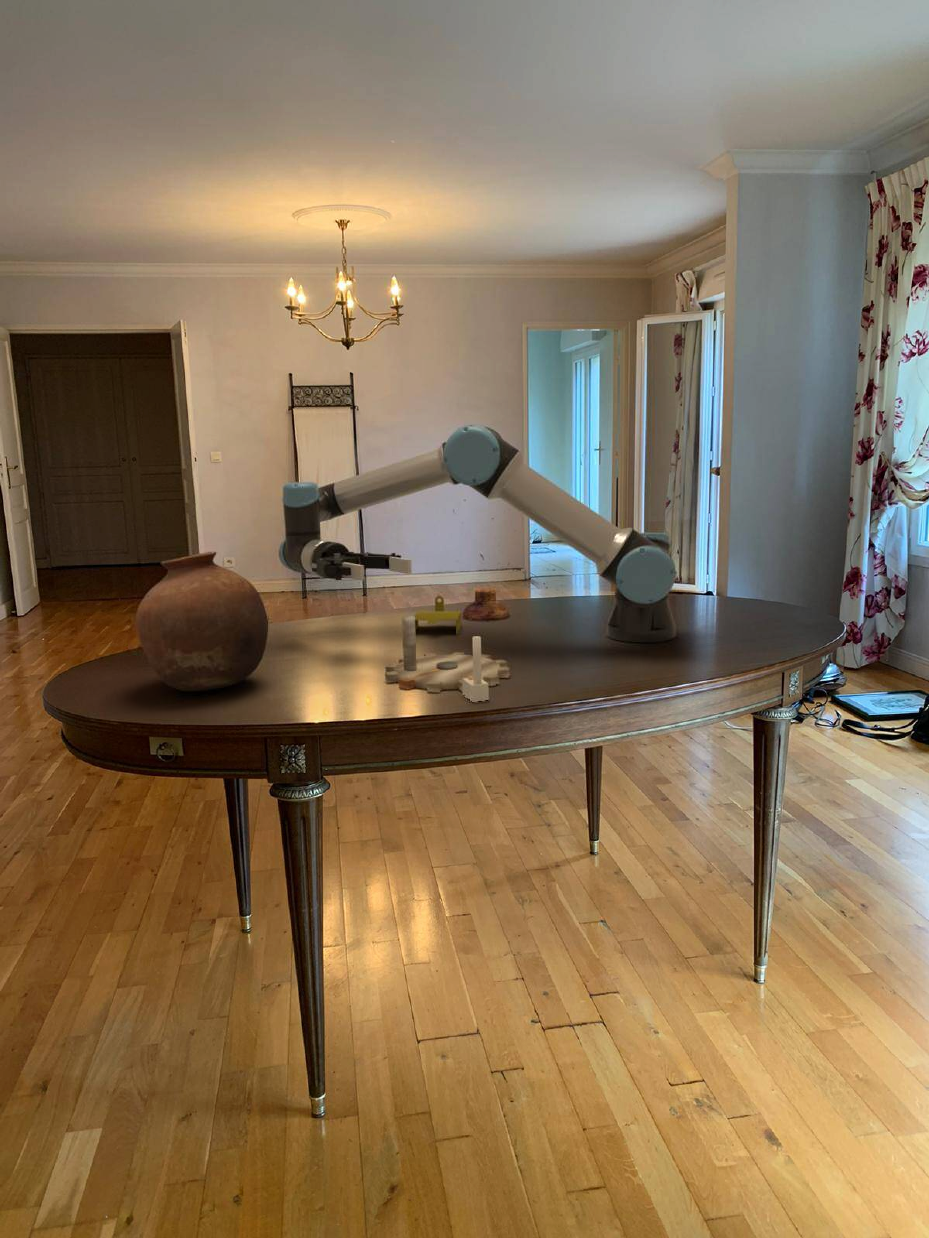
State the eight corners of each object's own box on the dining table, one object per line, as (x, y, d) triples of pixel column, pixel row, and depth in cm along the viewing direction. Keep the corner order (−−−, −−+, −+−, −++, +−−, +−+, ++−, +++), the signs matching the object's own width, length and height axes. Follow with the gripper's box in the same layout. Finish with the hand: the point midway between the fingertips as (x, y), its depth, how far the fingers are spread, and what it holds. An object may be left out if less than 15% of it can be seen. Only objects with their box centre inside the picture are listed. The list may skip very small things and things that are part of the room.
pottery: (277, 696, 155) (267, 556, 150) (138, 710, 149) (124, 564, 144) (267, 666, 177) (259, 542, 172) (146, 677, 170) (133, 549, 165)
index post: (462, 694, 153) (461, 633, 151) (478, 693, 154) (477, 632, 152) (472, 702, 149) (470, 639, 146) (488, 700, 150) (487, 637, 147)
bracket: (396, 607, 197) (407, 596, 211) (397, 641, 198) (408, 627, 213) (465, 607, 195) (471, 596, 210) (465, 641, 196) (472, 627, 211)
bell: (453, 617, 222) (452, 589, 221) (489, 611, 229) (489, 583, 228) (482, 624, 213) (481, 594, 212) (519, 617, 220) (519, 589, 219)
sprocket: (527, 665, 171) (527, 608, 169) (476, 697, 151) (475, 632, 149) (422, 655, 182) (421, 601, 179) (361, 684, 161) (358, 623, 159)
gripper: (373, 571, 190) (434, 582, 173) (278, 583, 176) (335, 596, 159) (371, 536, 189) (433, 544, 172) (276, 546, 175) (333, 556, 158)
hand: (386, 569), depth 166 cm, fingers open, 10 cm apart
